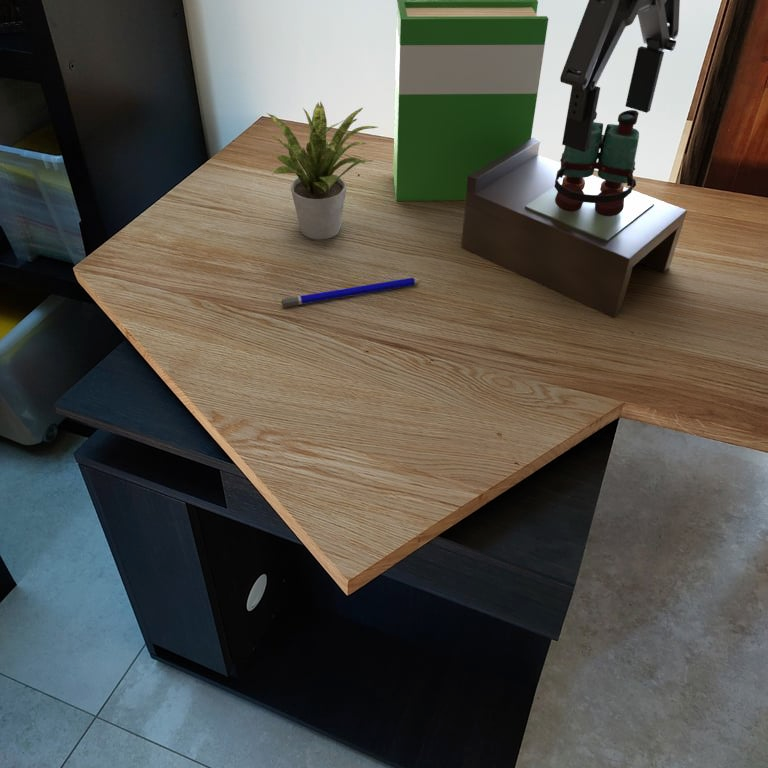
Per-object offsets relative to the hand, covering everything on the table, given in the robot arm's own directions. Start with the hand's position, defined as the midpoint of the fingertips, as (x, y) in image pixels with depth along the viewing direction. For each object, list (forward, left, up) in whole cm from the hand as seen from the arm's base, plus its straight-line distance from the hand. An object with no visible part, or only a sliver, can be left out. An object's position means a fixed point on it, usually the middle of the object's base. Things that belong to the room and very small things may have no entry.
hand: (607, 127), depth 85 cm
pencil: (+16, +24, -18) cm, 34 cm away
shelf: (+2, 0, -18) cm, 18 cm away
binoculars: (0, 0, -10) cm, 10 cm away
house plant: (+28, +16, -18) cm, 37 cm away
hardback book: (+23, -5, -18) cm, 30 cm away
